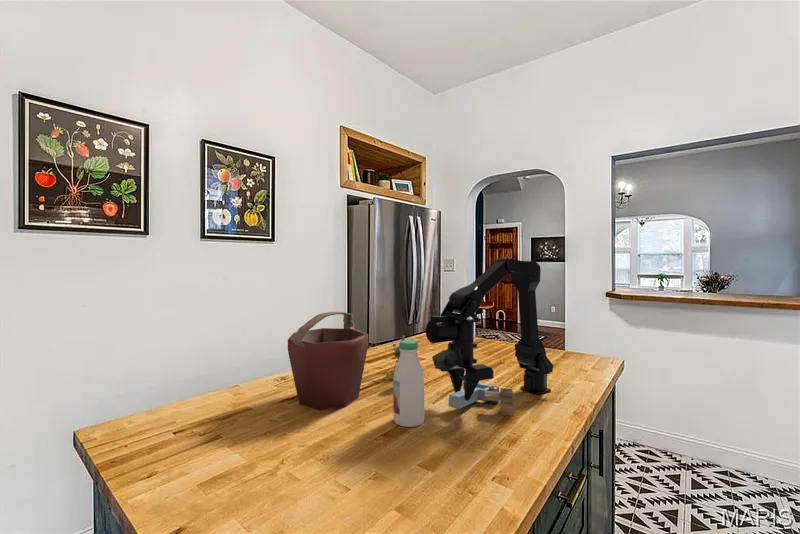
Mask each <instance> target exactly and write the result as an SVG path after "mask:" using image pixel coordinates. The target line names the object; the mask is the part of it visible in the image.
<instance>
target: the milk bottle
mask: <svg viewBox="0 0 800 534" xmlns="http://www.w3.org/2000/svg"><path fill="white" fill-rule="evenodd" d="M398 347H400V349H399V350H400V357H399V360H398V359H397V361H398V363H397V362H396V366H394V368H395V371H394V380H393V383H392V384H393V386H392V388H393V390H392V392H393V398H392V399H393V400H392V402H393V407H392V408H393V412H392V413H393V421H394V423H395V424H396V425H398V426H400V427H405V428H414V427H418V426H421V425H422V424H423V423H424V422H425V373H424V369H423V365H422V364H421V362H420V360H419V356H418V348H419V342H418V341H417V340H414V339H404V340H402V341H401V340H400V341H399V344H398Z"/></svg>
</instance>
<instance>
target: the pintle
mask: <svg viewBox="0 0 800 534" xmlns="http://www.w3.org/2000/svg"><path fill="white" fill-rule="evenodd" d="M489 391H494V392H500V387H499V386H496V385H491V386H489ZM488 403H489V404H492V405H498V404H500V401H493V400H488Z"/></svg>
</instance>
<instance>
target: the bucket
mask: <svg viewBox="0 0 800 534" xmlns="http://www.w3.org/2000/svg"><path fill="white" fill-rule="evenodd" d="M334 315H341V316H342V315H343V318H342V319H343V320H342V322H343V328H337V327H336V328H334V327H333V328H332V327H329V328H324V327H323V328H321V327H320V328H315V329H312V328H314V326H316V325H317V324H318V323H319V322H321V321H323V320H324V319H325V318H327V317H330V316H334ZM353 319H354V313H350V312H343V311H342V312H341V311H328V312H322V313H319V314H317V315H315V316H313V317H312V318H311V319H309V320H308V321H307V322H305V323H304V324H303V325H301V326H300V327H299V328H298V330H297V331H296V332H293V333H292V335H290V336H289V337H288V339H287V353H288V358H289V362H290V368H291V372H292V377H293V382H294V386H295V387H294V388H295V391H296V396H297V400H298V405H300V406H303V407H306V408H309V409H313V410H316V411H323V410H331V409H339V408H346V407H348V406H349V405H350V404H351V403H353V402H355V400H357V399H358V398H359V396H360V390H361V385H362V380H363V374H364V370H365V364H366V359H367V354H368V348H369V333H366V332H364V331H361V330H358V329H357V328H356V329H355V322H354V320H353Z"/></svg>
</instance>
